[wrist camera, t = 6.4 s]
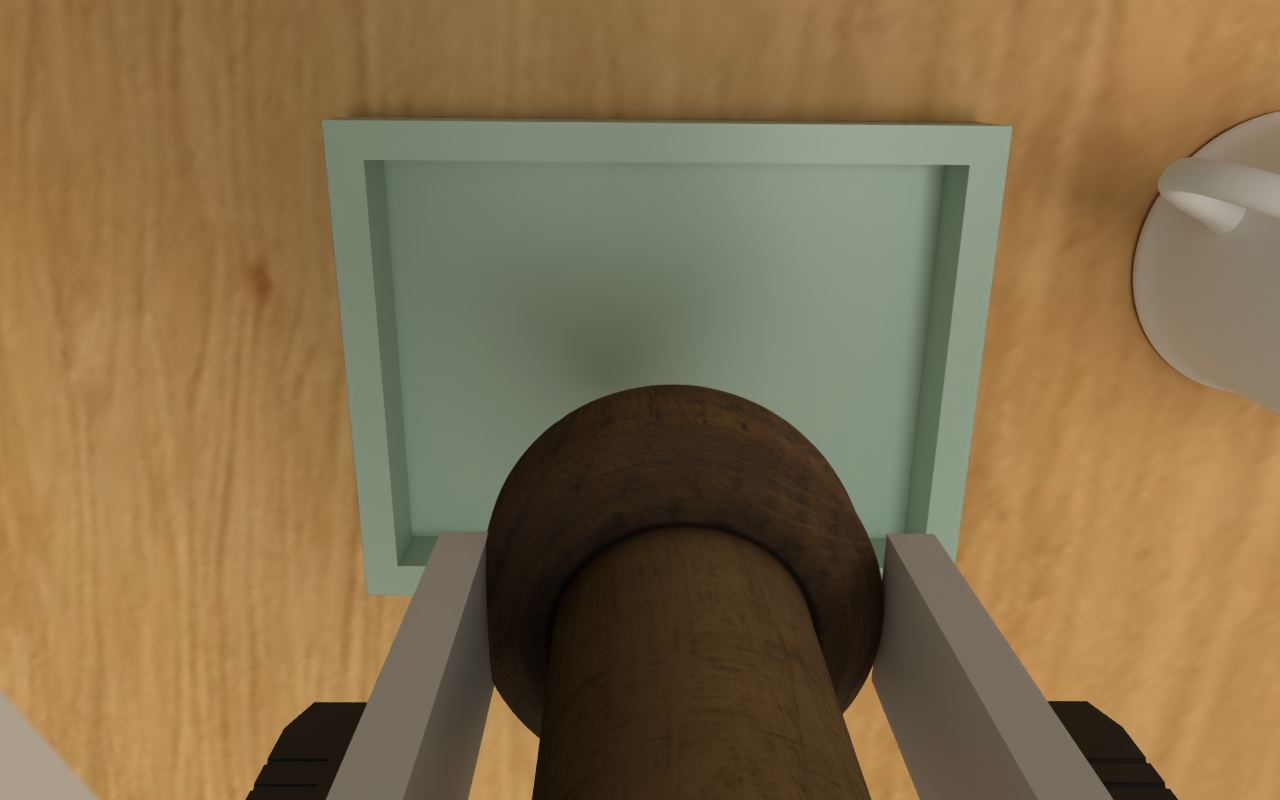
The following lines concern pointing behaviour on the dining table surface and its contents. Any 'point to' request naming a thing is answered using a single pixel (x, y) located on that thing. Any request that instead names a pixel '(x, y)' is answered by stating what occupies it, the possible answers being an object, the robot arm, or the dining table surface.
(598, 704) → the wooden pepper mill
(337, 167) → the tray
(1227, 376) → the mug
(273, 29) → the dining table surface
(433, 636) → the robot arm
